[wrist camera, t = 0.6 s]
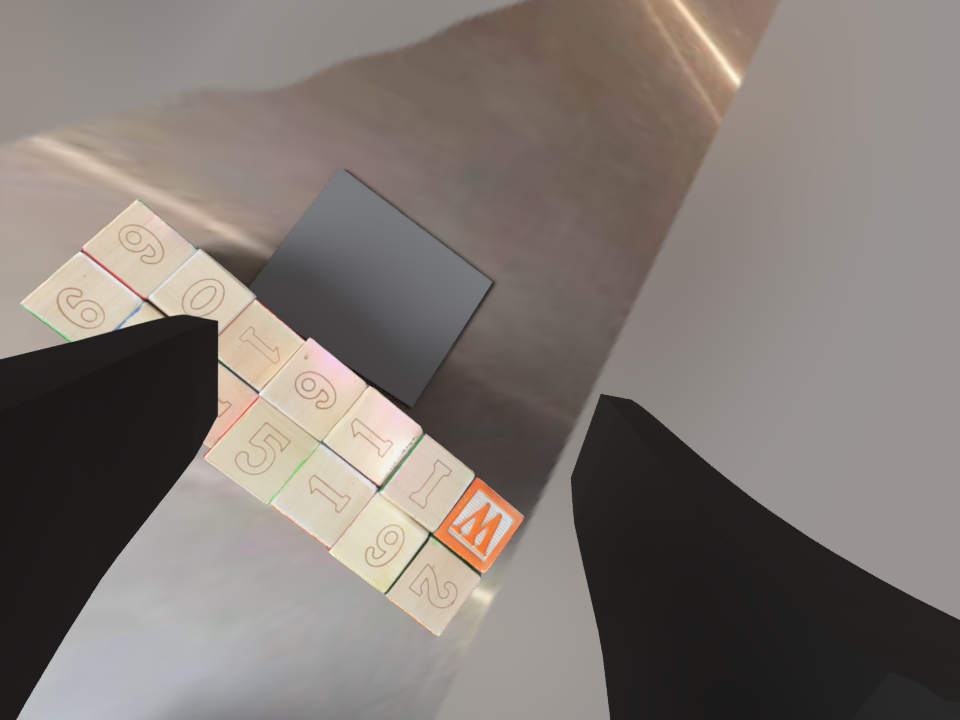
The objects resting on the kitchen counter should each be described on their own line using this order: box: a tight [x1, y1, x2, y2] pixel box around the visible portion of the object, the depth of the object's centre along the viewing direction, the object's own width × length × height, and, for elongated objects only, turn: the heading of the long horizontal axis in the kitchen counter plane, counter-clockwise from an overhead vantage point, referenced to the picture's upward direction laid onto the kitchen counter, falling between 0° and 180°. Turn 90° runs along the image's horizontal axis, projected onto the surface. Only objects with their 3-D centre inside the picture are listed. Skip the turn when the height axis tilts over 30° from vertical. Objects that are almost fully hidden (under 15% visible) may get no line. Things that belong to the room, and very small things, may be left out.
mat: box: [248, 167, 492, 408], centre depth 35 cm, size 10×12×1 cm
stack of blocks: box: [21, 199, 524, 636], centre depth 28 cm, size 21×6×12 cm, turn 50°
